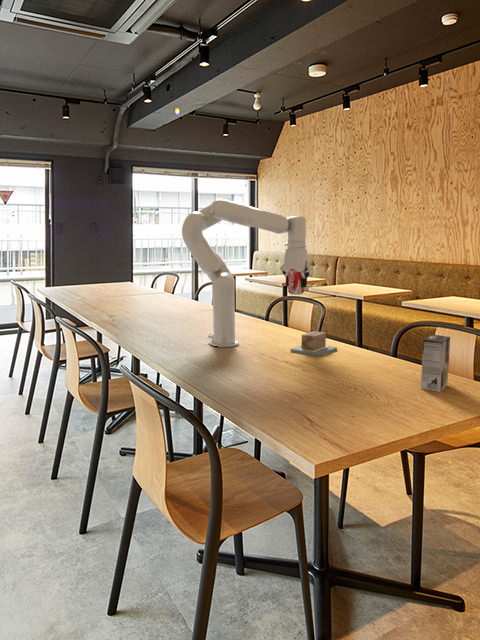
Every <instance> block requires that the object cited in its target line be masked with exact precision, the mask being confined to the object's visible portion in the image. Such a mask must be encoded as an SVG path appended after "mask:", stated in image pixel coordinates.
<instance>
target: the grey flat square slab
mask: <svg viewBox="0 0 480 640" xmlns="http://www.w3.org/2000/svg"><path fill="white" fill-rule="evenodd" d="M337 350H338V347H337V346H332V345H326V347H323V348H320V349H318V350H315V351H310V350H304V349H302V344H301V345H298V346H295V347H292V348H290V353H295V354H301V355H308V356H314V357H318V358H319V357H320V358H321V357H323V356H326V355H328V354H330V353H333V352H335V351H337Z"/></svg>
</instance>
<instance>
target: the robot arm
mask: <svg viewBox="0 0 480 640" xmlns="http://www.w3.org/2000/svg"><path fill="white" fill-rule="evenodd" d="M222 221H225V222H228V223H231V224H236V225H239V226H243V227H248V228H257V229H259V230H260V229H261V230H263V231H267V232H270V233H271V232H272V233H275V234H280V235H281V234H285V233H287V242H285V246H287V248H285V251H284V252H285V253H284V256H283V257H284V259H283V264H282V266H280V267H279V269H280V271H281V272H282V274H283V276H284V278H285V287H287V288H288V272H289V270H290V269H295V270H296V271H297V272H301V275H302V277H303V278H302V279H301V287H302V288H304V289H305V288H306V287H307V285H308V278H309V276H310V275H311V274H312V273H313V272H314V268H313V267H312V266H311V265H310V264H309V254H308V250H307V248H306V242H307V241H306V237H307V236H306V234H307V232H306V230H307V229H306V228H307V225H306V224H307V220H306V217H305V216H303V215H292V216H284V215H282V214H277V213H273V212H270V211H266V210H262V209H259V208H256V207H253V206H251V205H246V204H243V203H239V202H235V201H232V200H227V199H224V198H217V199H214V200H213V201H212V202H211V204H209V205H208V206H206V207H204V208H201V209H200V210H198V211H192V212H190V213H189V214H188V215H187V216H186V218H185V219H184V221H183V223H182V228H181V235H182V240H183V242H184V244H185V245H186V247H187V249H188V251H189V253H190V254H191V256H192V258H194V260H195V262H196V263H197V265H198V266H199V269H200V270H201V271H202V272H203V273H204V274H206V276H207V277H208V279H209V280H210V282H211V283H212V286H211V289H212V291H211V292H212V312H213V313H212V317H213V318H212V319H213V321H212V322H213V324H212V325H213V326H212V327H213V332H210V333H209V334H208V335H207V338H208V339H211V341H210V342H209V345H210V344H211V345H213V346H212V347H214V346H218V347H217V348H230V347H231V348H233V347H236V346H238V345H239V343H240V342H239V341H238V340H236V307H235V304H236V303H235V302H236V301H235V300H236V299H235V296H236V295H235V286H236V283H235V282H236V281H235V278H234V275H233V274H232V273H231V271H230V269H229V268H228V266H227V265H226V263H225V262H224V260H223V259H222V257H221V256H220V254H218V253H217V252H214V250H213V249H212V247H211V245H210V244H209V242H208V241H207V240H206V238H205V236H204V235H203V231H205V230H208V229H209V228H211V227H213V226H214V225H216V224H218V223H220V222H222ZM211 345H210V346H211Z"/></svg>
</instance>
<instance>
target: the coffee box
mask: <svg viewBox="0 0 480 640" xmlns="http://www.w3.org/2000/svg"><path fill="white" fill-rule="evenodd" d="M450 347H451V336H446V335H438V334H429V335H428V336H426V337H425V338H423V342H422V356H421V357H422V358H421V377H420V379H421V380H420V389H421V390H424V389H425V391H430V390H431V392H436V391H437V393H441V392H442V391H444V389H445V388H446V387H447V386H448V385H449V384H448V382H449V367H450V349H451V348H450Z"/></svg>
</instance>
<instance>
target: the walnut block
mask: <svg viewBox="0 0 480 640" xmlns="http://www.w3.org/2000/svg"><path fill="white" fill-rule="evenodd" d="M326 338H327V337H326V332H322V331H315V330H314V331H310V332H307V333H304V334H301V345H302V349H304V350H310V351H315V350H318V349H320V348H323V347H326V346H327V345H326V342H327V340H326Z"/></svg>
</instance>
